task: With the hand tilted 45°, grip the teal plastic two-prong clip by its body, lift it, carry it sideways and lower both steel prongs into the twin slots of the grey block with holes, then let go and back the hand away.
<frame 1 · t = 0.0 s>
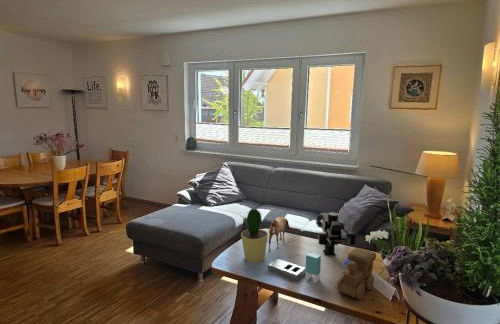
hand: (340, 245, 159), 17 cm above the table, tool horizontal, fingers open, 9 cm apart
potted cactus: (254, 258, 182), on the table
hard drive: (353, 264, 174), on the table
wooden toy train: (356, 290, 149), on the table
clip: (312, 279, 158), on the table
grey block with holes: (292, 273, 164), on the table
horse figurine: (282, 246, 198), on the table
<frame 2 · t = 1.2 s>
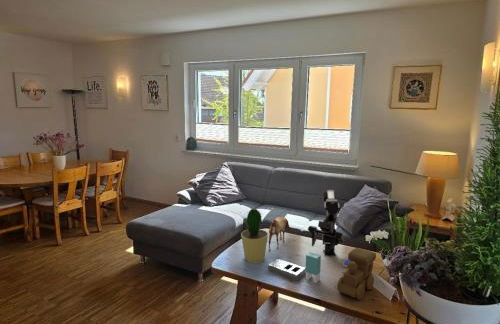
hand: (320, 248, 162), 14 cm above the table, tool tilted 45°, fingers open, 9 cm apart
nothing on the table moved.
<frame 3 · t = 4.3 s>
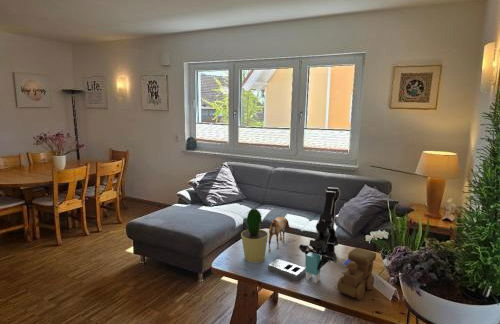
hand: (311, 268, 156), 7 cm above the table, tool tilted 45°, fingers closed on clip, 6 cm apart
clip: (312, 279, 158), on the table, touching gripper
everything else where it was.
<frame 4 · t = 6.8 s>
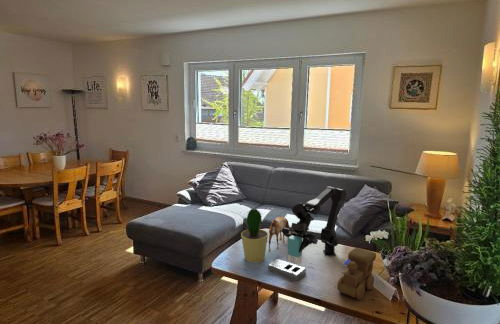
hand: (293, 250, 160), 14 cm above the table, tool tilted 45°, fingers closed on clip, 6 cm apart
clip: (294, 261, 162), point 7 cm above the table, touching gripper
everything else where it was.
when the fingers open (7 cm above the table, at t = 9.3 s): clip stays where it is, resting in grey block with holes.
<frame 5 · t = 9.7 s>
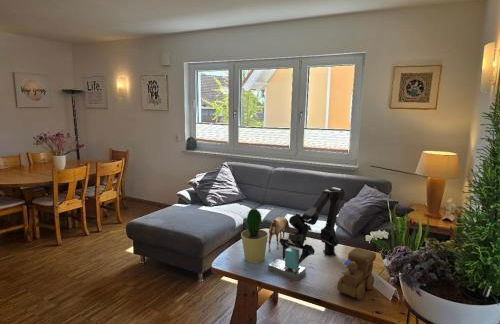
hand: (290, 261, 162), 8 cm above the table, tool tilted 45°, fingers open, 9 cm apart
clip: (291, 273, 164), resting in grey block with holes
everything else where it was.
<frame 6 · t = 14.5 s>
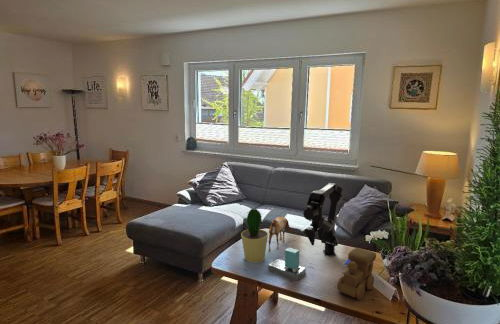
hand: (316, 242, 171), 13 cm above the table, tool pointing down, fingers open, 9 cm apart
nothing on the table moved.
at the end: clip 0.0 cm off-centre on the grey block with holes, point 0.0 cm above the grey block with holes's base; clip tilted 0°; the gripper is holding nothing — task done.
